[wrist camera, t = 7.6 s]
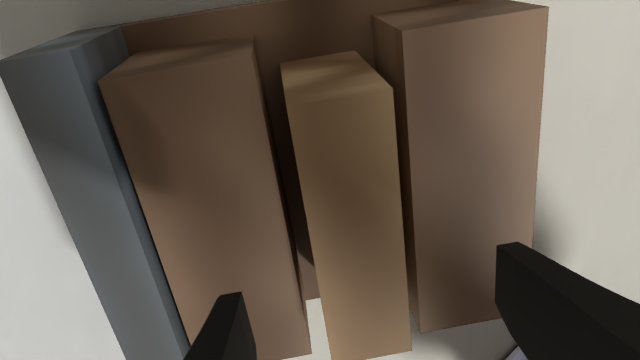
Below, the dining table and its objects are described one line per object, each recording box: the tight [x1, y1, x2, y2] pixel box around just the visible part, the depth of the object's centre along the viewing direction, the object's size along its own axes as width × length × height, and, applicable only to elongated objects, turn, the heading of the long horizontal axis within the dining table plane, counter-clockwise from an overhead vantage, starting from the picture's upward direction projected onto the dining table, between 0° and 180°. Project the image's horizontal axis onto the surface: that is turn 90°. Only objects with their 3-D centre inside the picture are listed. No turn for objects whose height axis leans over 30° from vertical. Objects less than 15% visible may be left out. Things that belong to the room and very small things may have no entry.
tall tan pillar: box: [280, 50, 412, 360], centre depth 18 cm, size 3×10×6 cm, turn 8°
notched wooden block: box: [0, 0, 549, 360], centre depth 19 cm, size 16×14×6 cm
